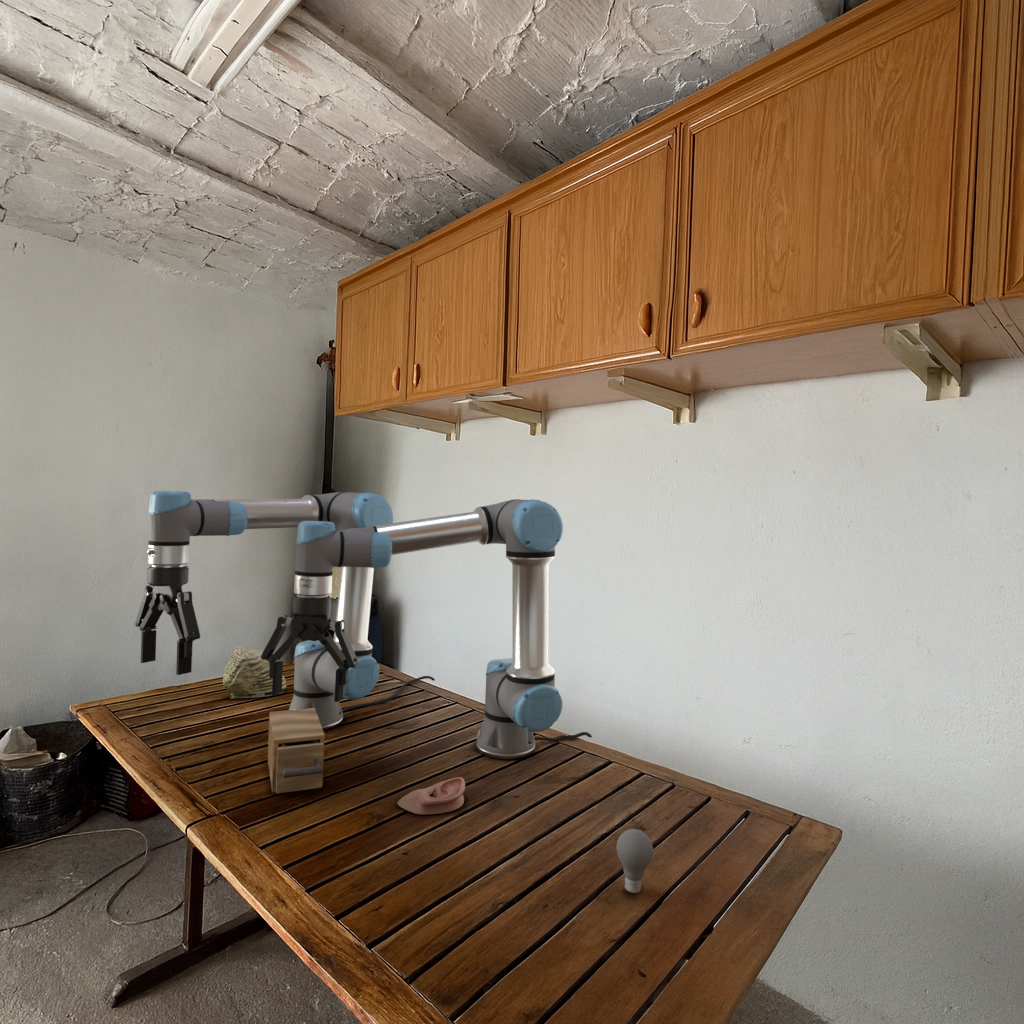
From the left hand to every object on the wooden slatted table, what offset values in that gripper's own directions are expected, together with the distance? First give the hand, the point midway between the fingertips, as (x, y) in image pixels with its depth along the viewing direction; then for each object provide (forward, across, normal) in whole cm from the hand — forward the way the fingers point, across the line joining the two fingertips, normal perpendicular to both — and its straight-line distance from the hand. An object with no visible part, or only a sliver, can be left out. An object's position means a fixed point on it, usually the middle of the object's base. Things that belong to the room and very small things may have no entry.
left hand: (165, 667), depth 131 cm
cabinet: (+27, +12, +24) cm, 38 cm away
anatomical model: (+27, +47, +31) cm, 62 cm away
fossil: (+27, -42, +52) cm, 72 cm away
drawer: (+26, +18, +20) cm, 37 cm away
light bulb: (+27, +93, +28) cm, 101 cm away
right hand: (+5, +25, +16) cm, 30 cm away
